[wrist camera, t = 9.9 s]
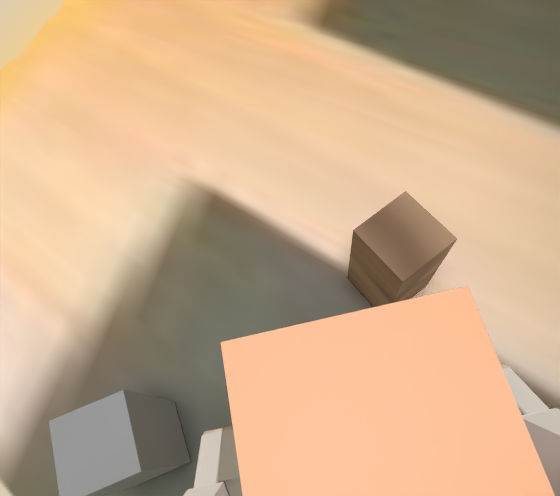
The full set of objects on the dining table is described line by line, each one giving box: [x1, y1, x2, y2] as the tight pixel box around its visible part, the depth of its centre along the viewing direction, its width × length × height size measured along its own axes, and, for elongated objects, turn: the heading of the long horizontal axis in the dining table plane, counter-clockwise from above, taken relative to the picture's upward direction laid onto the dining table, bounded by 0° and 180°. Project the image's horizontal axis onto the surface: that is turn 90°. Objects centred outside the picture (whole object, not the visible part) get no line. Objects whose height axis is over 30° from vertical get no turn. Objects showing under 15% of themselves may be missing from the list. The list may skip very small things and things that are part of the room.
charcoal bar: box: [49, 390, 191, 496], centre depth 28 cm, size 4×4×9 cm
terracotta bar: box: [221, 286, 555, 496], centre depth 11 cm, size 4×4×9 cm
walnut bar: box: [348, 191, 457, 307], centre depth 31 cm, size 4×4×9 cm
